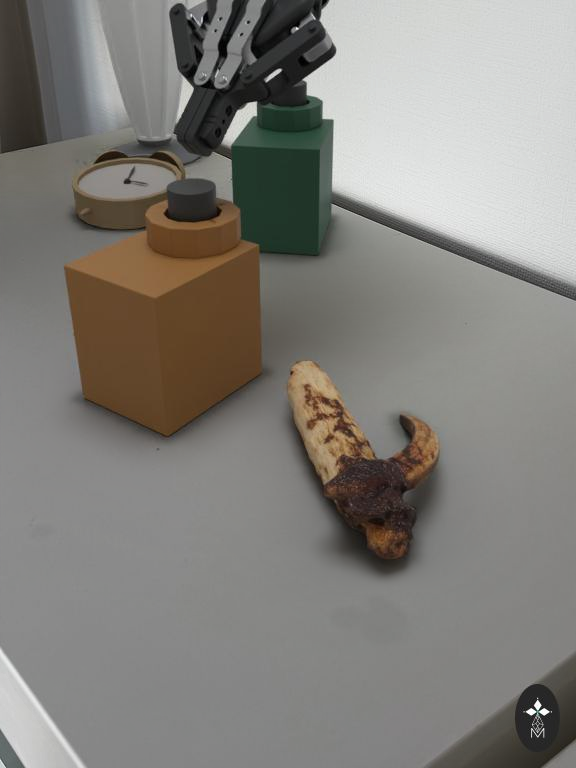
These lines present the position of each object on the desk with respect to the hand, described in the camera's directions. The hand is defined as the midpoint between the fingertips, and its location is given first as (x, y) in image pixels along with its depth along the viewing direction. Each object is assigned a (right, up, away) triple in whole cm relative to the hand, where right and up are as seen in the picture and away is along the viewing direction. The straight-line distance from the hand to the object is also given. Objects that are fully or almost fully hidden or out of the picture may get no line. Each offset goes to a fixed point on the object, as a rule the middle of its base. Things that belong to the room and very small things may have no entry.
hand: (192, 148), depth 55 cm
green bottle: (+6, 0, +31) cm, 31 cm away
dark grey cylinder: (0, -4, +2) cm, 5 cm away
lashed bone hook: (+11, -20, -2) cm, 23 cm away
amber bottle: (-2, -15, +6) cm, 16 cm away
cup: (-10, +13, +52) cm, 55 cm away
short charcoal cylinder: (+6, +11, +27) cm, 30 cm away
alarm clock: (-10, +4, +38) cm, 39 cm away
